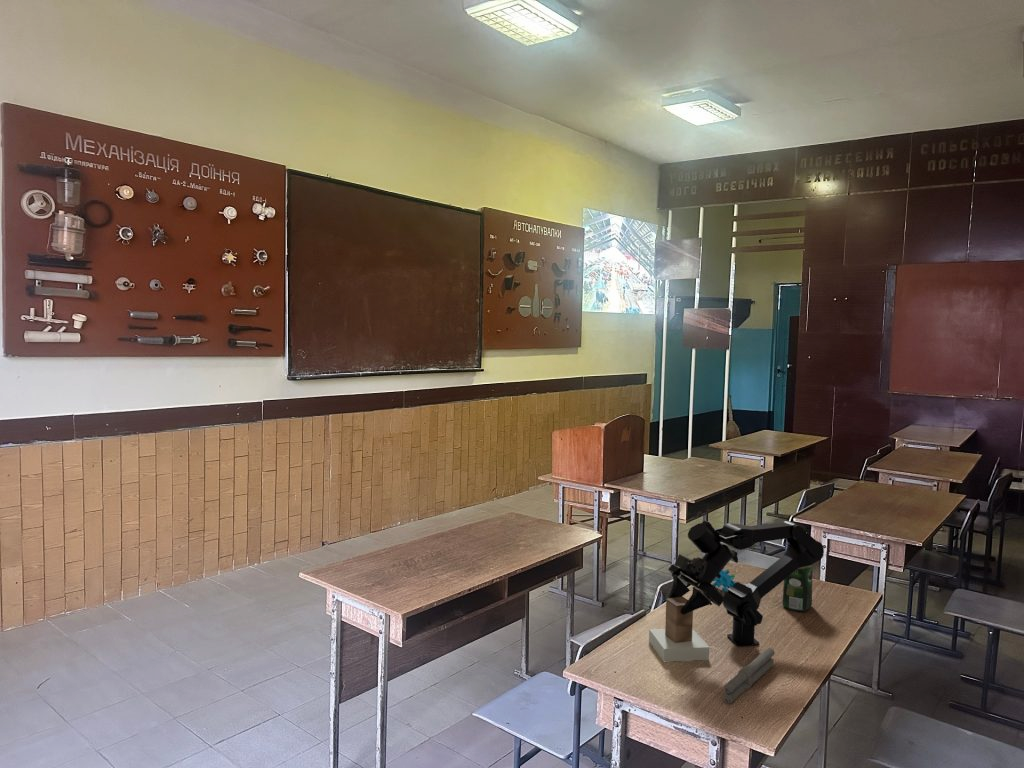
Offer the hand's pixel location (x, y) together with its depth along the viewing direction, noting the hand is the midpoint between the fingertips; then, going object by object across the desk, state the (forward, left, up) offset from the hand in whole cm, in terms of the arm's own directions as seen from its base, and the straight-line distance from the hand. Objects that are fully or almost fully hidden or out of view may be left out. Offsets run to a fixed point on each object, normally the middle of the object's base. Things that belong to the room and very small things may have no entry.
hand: (674, 608), depth 183 cm
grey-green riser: (0, -1, -12) cm, 12 cm away
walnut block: (0, -1, -8) cm, 8 cm away
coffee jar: (+26, -49, -12) cm, 57 cm away
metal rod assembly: (-18, -12, -12) cm, 25 cm away
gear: (+43, -33, -12) cm, 55 cm away
